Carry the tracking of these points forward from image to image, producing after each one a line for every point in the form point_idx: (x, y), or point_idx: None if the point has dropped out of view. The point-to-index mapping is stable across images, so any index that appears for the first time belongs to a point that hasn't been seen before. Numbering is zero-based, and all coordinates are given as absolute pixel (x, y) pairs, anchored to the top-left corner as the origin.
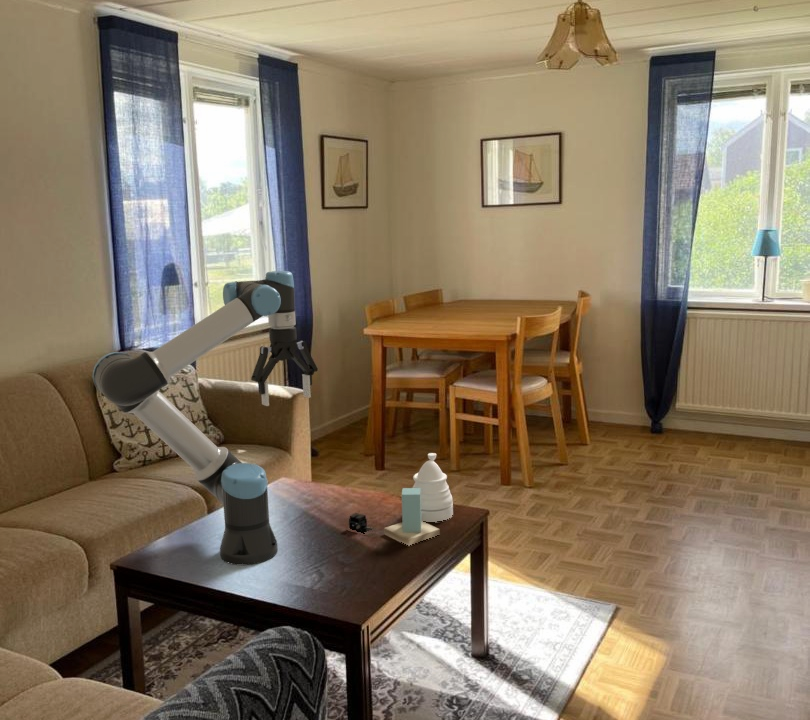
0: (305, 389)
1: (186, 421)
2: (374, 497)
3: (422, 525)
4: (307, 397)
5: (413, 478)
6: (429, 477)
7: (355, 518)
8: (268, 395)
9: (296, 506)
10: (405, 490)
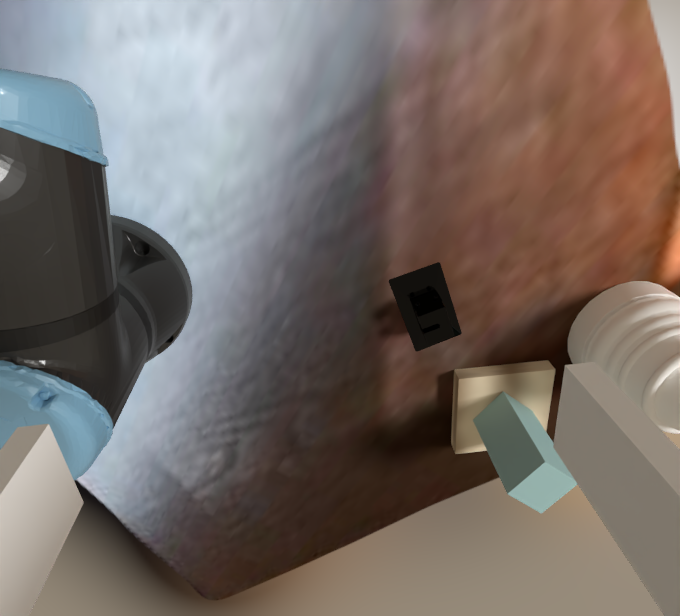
0: (605, 470)
1: None
2: (627, 120)
3: (533, 412)
4: (555, 432)
5: (655, 375)
6: (670, 426)
7: (423, 332)
8: (29, 610)
9: (384, 14)
10: (537, 477)
